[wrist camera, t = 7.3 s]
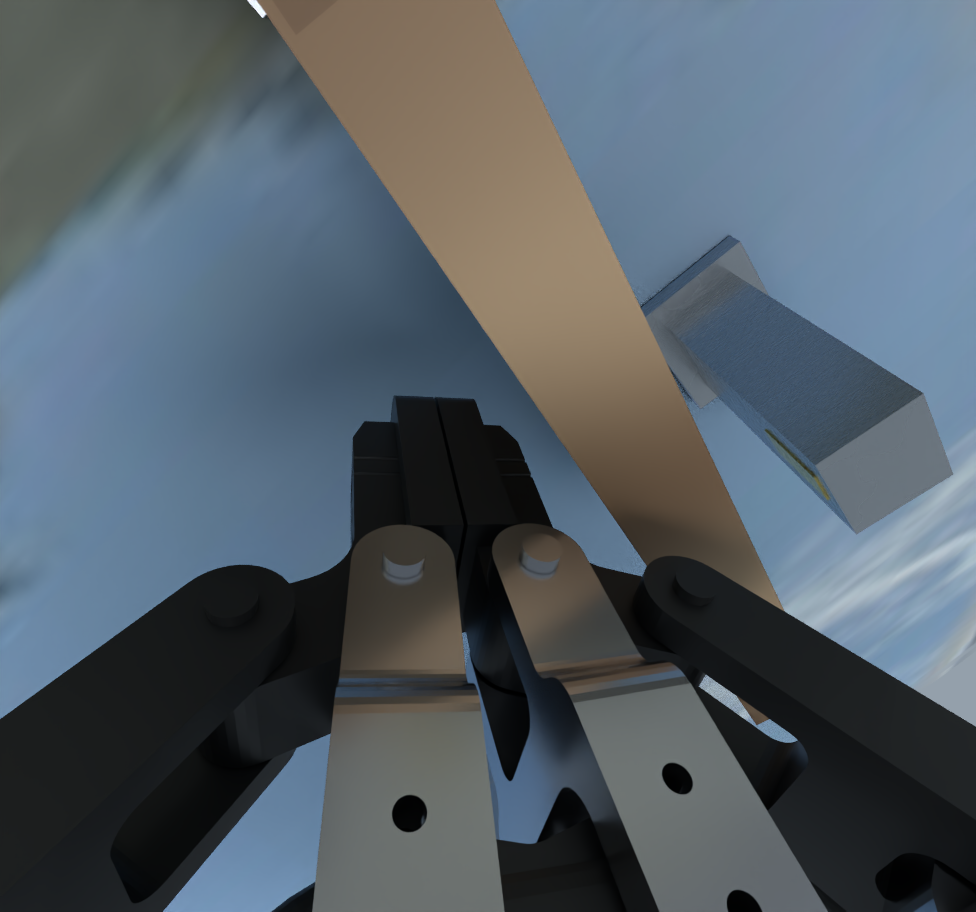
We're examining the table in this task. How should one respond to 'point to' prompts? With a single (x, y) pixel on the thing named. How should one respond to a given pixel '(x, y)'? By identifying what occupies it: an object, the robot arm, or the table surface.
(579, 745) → the robot arm
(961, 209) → the table surface
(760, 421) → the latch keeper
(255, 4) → the hinge post
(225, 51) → the table surface
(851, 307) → the table surface
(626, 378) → the bar
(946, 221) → the table surface
